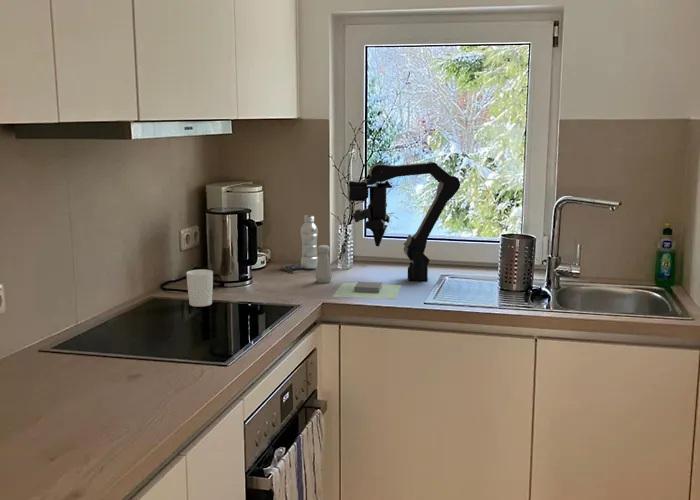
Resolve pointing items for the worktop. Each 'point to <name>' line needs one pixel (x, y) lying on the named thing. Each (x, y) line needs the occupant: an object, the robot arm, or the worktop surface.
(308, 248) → the plastic bottle
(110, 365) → the worktop surface
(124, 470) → the worktop surface
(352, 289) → the trivet mat
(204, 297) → the white cup
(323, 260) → the salt shaker
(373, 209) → the robot arm
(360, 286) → the slate tile
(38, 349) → the worktop surface
